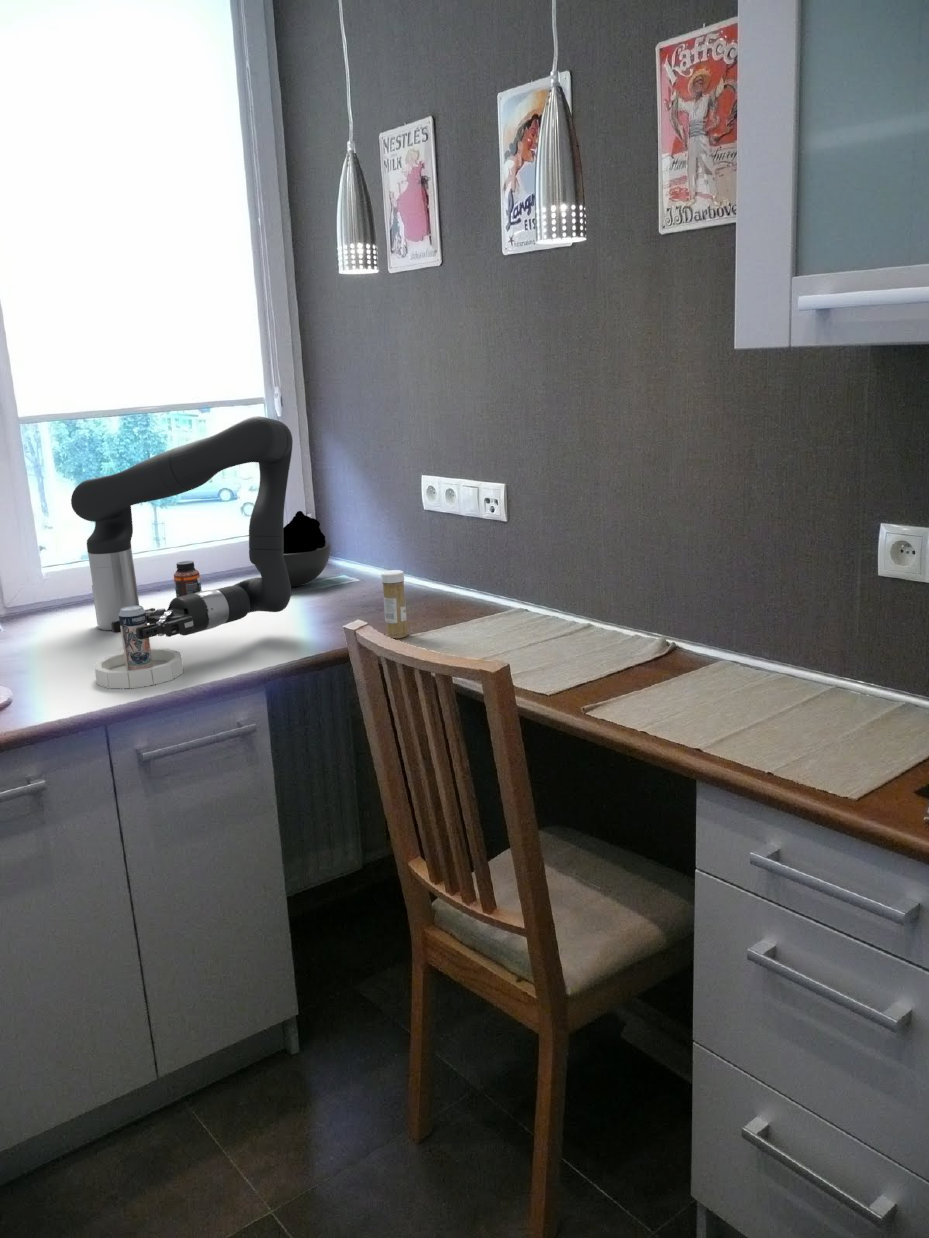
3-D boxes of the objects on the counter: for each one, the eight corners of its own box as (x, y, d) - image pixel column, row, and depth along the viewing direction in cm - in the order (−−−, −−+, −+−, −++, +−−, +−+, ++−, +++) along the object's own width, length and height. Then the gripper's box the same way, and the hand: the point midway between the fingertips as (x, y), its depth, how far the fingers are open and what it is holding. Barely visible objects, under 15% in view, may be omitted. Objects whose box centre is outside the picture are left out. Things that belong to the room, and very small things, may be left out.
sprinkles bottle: (412, 636, 210) (407, 571, 207) (392, 640, 208) (388, 575, 204) (401, 631, 214) (396, 568, 211) (381, 636, 212) (376, 571, 208)
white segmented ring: (81, 679, 193) (79, 664, 192) (153, 659, 204) (151, 644, 203) (125, 693, 183) (123, 677, 182) (199, 671, 194) (197, 656, 193)
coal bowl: (349, 580, 267) (343, 507, 262) (300, 597, 250) (292, 520, 246) (288, 575, 277) (282, 505, 272) (237, 592, 260) (229, 518, 256)
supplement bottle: (209, 607, 246) (203, 560, 243) (190, 613, 241) (184, 565, 238) (191, 605, 249) (185, 558, 246) (172, 610, 244) (166, 563, 241)
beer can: (129, 675, 190) (120, 612, 187) (124, 669, 194) (115, 607, 191) (155, 670, 192) (147, 608, 189) (150, 664, 196) (142, 603, 193)
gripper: (176, 589, 205) (101, 606, 194) (218, 597, 196) (143, 616, 184) (180, 625, 207) (107, 645, 195) (223, 635, 198) (148, 656, 186)
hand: (124, 630), depth 190 cm, fingers open, 8 cm apart
